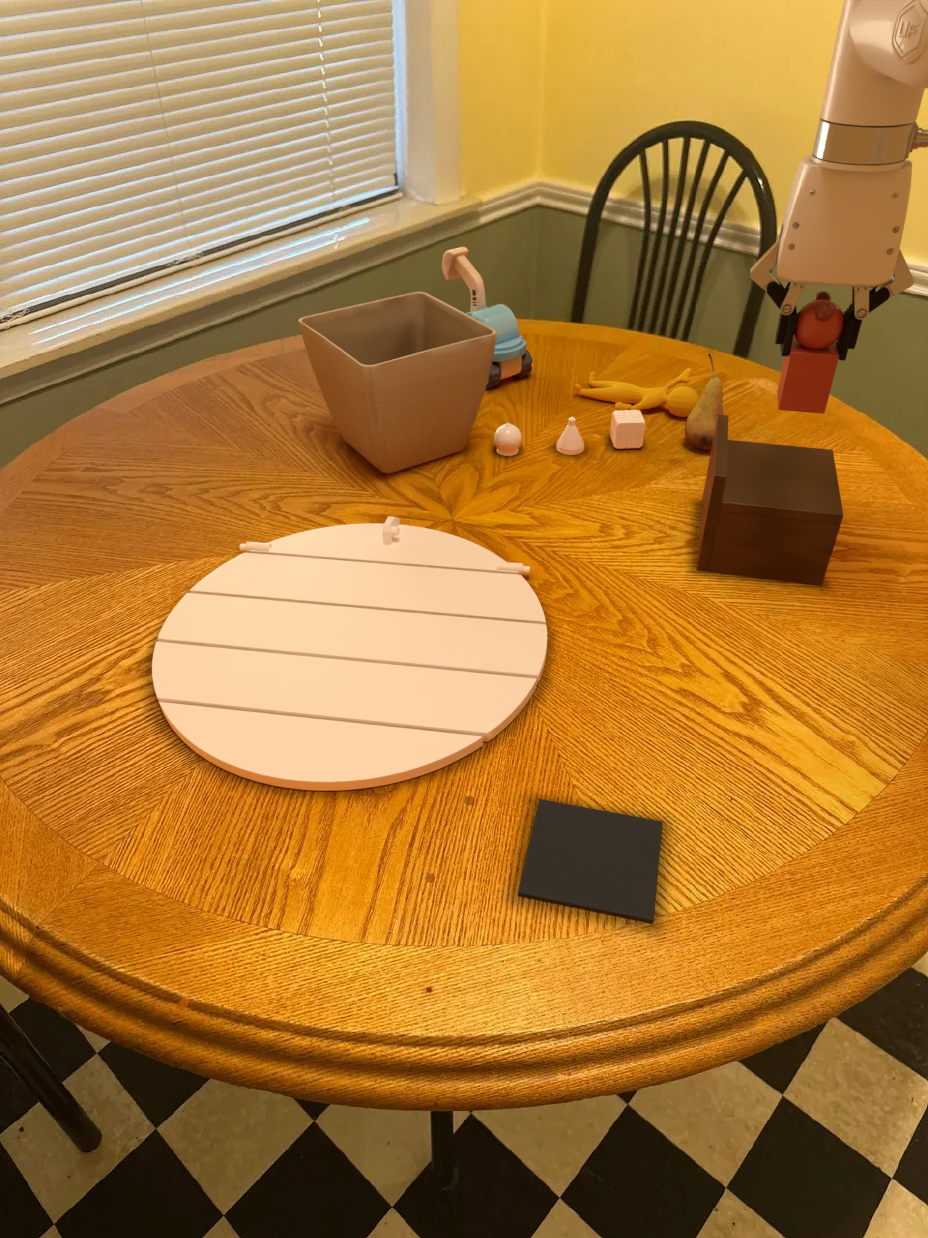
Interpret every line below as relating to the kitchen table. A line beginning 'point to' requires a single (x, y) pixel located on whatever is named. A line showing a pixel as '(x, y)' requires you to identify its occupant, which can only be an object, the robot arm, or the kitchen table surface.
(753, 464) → the wooden box with backboard
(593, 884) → the mat
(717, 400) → the fruit
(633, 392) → the figurine
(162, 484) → the kitchen table surface
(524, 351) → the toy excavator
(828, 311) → the ball-topped red block
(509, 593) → the round plank board
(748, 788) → the kitchen table surface
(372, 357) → the flower pot
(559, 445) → the decorative object set
